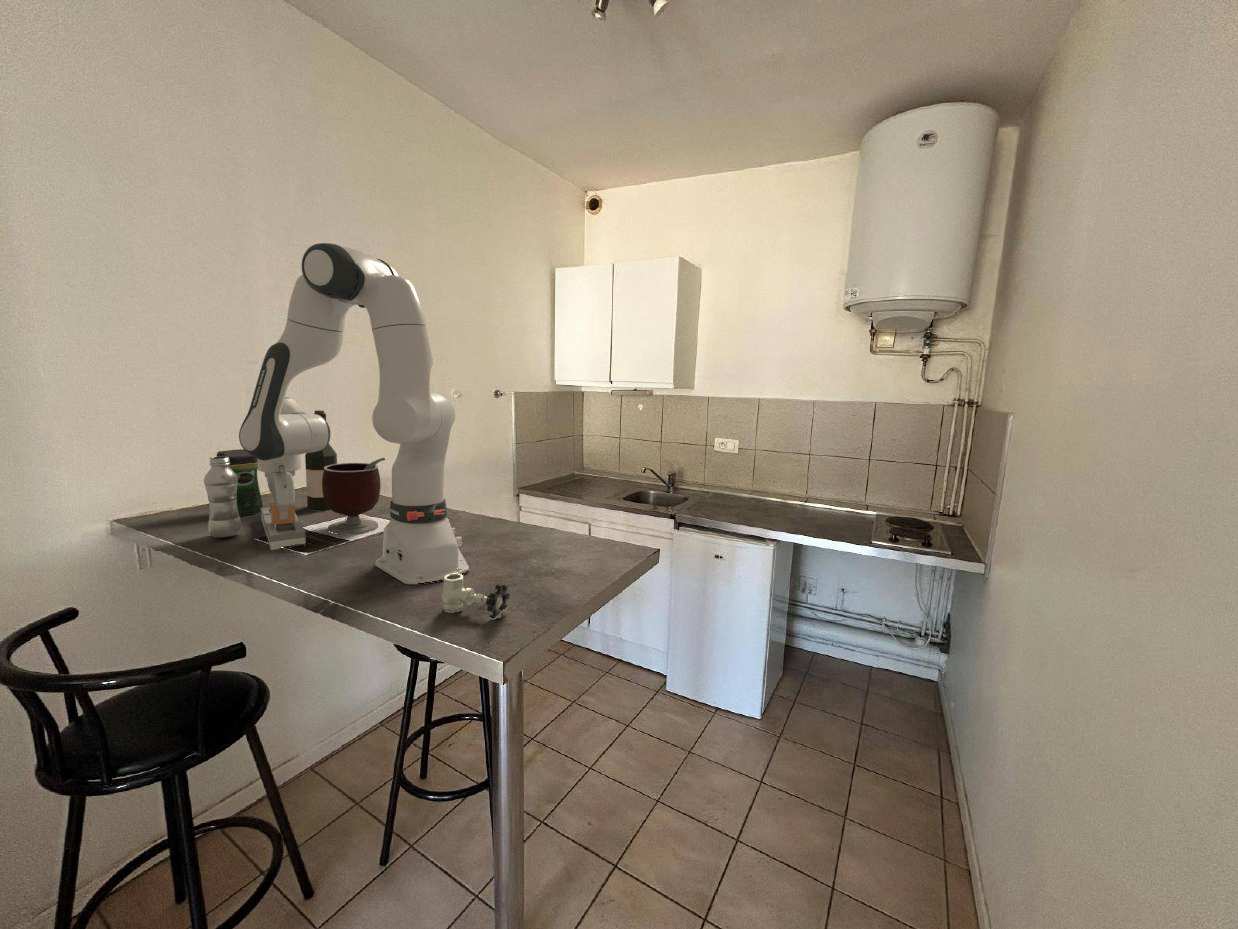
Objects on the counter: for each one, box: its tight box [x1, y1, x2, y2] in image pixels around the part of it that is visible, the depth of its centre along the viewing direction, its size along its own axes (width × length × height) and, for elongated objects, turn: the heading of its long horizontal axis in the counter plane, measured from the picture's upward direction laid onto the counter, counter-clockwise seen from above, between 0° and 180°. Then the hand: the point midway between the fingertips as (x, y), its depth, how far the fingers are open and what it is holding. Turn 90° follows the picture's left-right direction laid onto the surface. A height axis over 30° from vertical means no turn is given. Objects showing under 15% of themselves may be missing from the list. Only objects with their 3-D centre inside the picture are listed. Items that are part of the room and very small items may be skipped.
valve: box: [441, 573, 511, 618], centre depth 91 cm, size 7×7×12 cm
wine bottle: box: [304, 409, 338, 512], centre depth 149 cm, size 8×8×30 cm
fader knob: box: [269, 502, 296, 531], centre depth 124 cm, size 3×5×7 cm, turn 129°
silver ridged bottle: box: [203, 456, 243, 539], centre depth 121 cm, size 6×7×20 cm
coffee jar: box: [215, 448, 264, 517], centre depth 140 cm, size 10×8×19 cm
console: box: [260, 506, 307, 551], centre depth 128 cm, size 28×7×4 cm, turn 39°
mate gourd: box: [322, 457, 386, 535], centre depth 133 cm, size 16×14×20 cm
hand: (282, 516), depth 124 cm, fingers closed on fader knob, 2 cm apart
